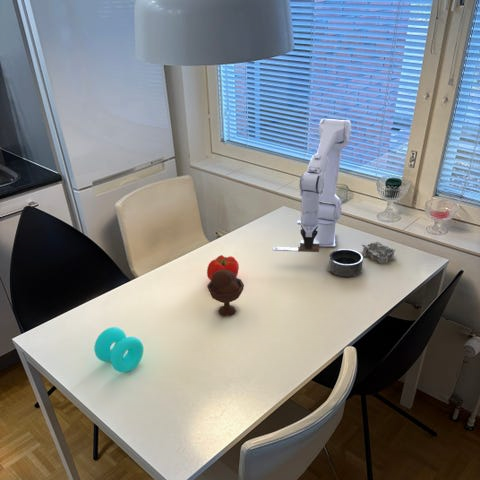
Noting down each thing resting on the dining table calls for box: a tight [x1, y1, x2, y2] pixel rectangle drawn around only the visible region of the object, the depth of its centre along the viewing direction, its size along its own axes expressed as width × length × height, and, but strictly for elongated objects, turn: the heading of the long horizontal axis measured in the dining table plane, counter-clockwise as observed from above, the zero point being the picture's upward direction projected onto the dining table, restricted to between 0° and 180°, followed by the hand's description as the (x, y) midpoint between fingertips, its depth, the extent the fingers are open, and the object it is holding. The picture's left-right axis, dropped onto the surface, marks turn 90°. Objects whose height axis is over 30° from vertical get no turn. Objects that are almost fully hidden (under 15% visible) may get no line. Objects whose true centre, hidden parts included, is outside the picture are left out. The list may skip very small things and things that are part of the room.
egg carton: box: [362, 241, 397, 264], centre depth 176 cm, size 11×8×4 cm
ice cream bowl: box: [206, 270, 245, 317], centre depth 149 cm, size 11×11×15 cm
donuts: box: [93, 326, 144, 373], centre depth 133 cm, size 10×10×10 cm
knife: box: [272, 239, 320, 253], centre depth 169 cm, size 16×2×3 cm, turn 82°
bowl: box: [328, 248, 364, 278], centre depth 170 cm, size 11×11×5 cm
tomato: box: [206, 254, 240, 281], centre depth 165 cm, size 11×11×9 cm
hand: (308, 246), depth 169 cm, fingers closed on knife, 2 cm apart
